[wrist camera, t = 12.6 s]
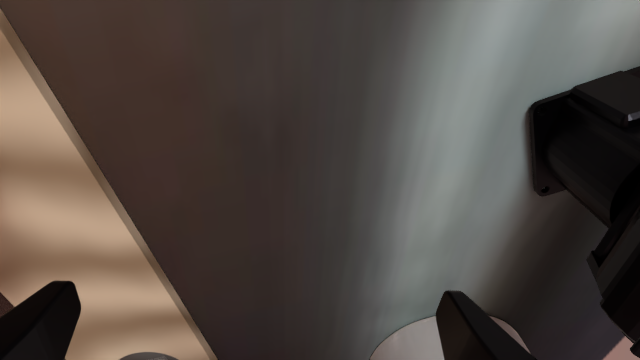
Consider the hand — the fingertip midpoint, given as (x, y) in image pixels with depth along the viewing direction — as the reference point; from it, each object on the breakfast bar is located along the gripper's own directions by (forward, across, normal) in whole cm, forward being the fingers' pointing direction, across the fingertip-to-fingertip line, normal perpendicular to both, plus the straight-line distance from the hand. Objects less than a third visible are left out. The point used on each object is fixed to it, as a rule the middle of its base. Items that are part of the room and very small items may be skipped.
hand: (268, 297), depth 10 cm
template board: (+13, +13, +12) cm, 22 cm away
